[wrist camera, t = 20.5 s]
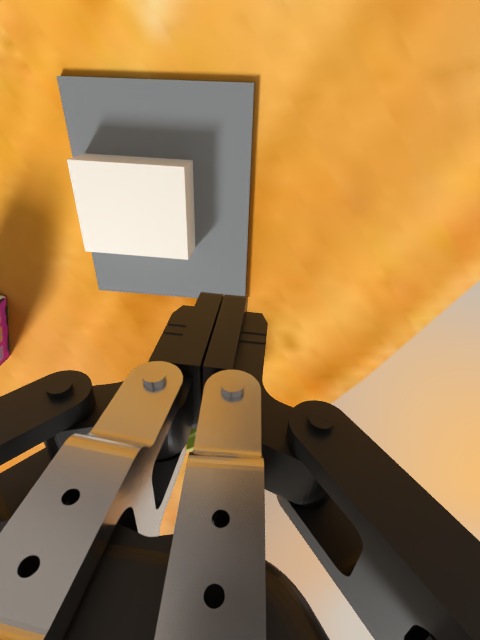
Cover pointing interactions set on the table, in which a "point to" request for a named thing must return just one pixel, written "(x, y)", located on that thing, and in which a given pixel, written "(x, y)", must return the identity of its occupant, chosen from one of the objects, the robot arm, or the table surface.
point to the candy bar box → (3, 331)
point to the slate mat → (174, 143)
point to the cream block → (135, 204)
